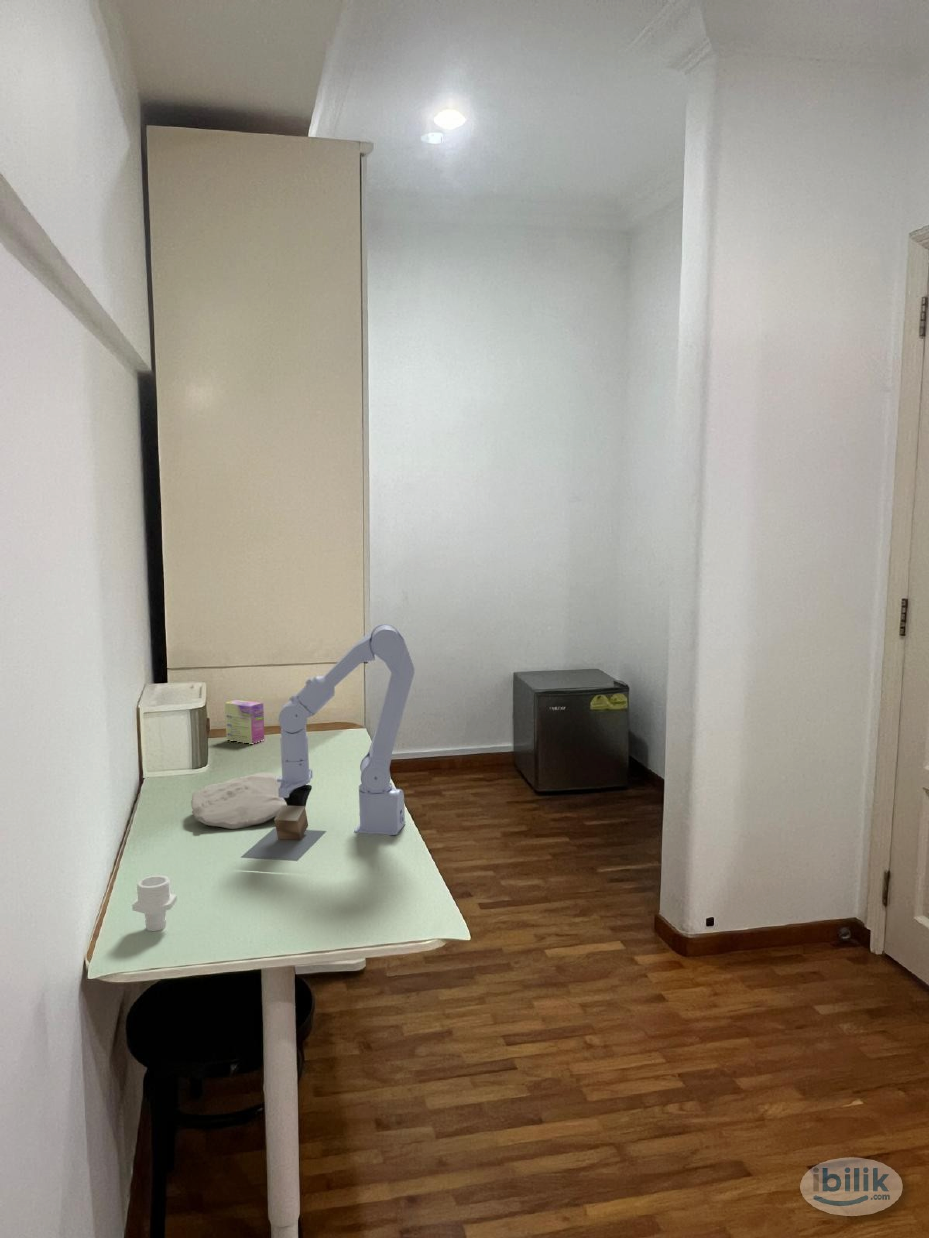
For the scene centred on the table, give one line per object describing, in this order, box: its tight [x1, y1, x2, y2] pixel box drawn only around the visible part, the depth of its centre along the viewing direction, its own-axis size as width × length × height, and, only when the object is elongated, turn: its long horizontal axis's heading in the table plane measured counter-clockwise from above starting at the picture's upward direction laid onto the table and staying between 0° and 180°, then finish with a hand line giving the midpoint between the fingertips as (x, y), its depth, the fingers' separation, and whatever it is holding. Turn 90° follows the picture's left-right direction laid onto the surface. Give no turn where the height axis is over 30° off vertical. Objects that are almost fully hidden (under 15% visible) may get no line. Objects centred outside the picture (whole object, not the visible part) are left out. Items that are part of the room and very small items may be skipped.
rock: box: [190, 772, 287, 830], centre depth 218 cm, size 8×23×30 cm
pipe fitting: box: [131, 875, 178, 932], centre depth 157 cm, size 6×7×8 cm
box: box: [224, 699, 265, 744], centre depth 281 cm, size 10×6×12 cm, turn 60°
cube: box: [273, 805, 309, 840], centre depth 198 cm, size 5×5×5 cm
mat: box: [240, 827, 327, 862], centre depth 194 cm, size 12×17×1 cm
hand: (297, 820), depth 201 cm, fingers closed
